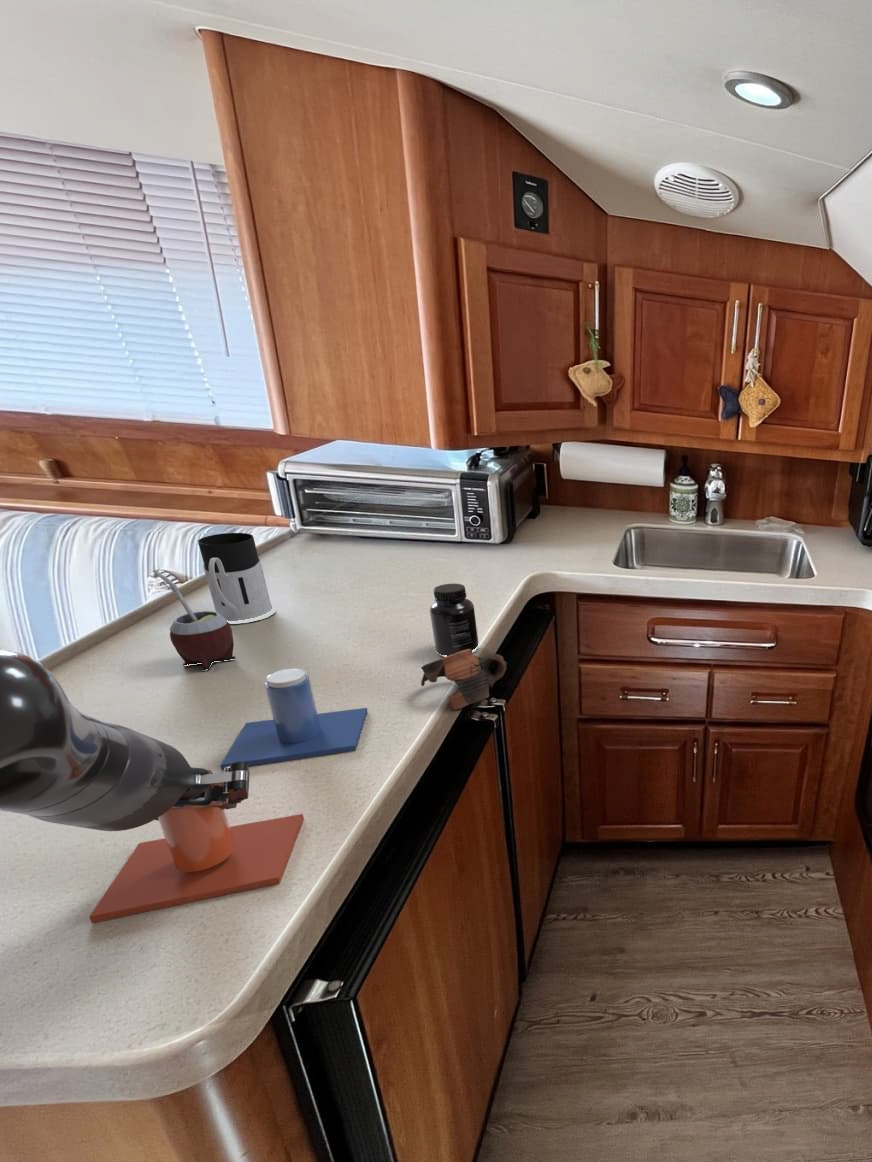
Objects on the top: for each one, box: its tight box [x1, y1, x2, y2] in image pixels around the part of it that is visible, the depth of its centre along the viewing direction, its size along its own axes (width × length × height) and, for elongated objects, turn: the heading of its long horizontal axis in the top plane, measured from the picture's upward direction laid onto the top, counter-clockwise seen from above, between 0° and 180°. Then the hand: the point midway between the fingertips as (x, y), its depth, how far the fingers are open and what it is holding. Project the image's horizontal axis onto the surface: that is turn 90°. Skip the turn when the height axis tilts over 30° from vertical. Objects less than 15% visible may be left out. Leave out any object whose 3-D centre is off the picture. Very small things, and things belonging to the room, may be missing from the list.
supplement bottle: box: [429, 583, 479, 656], centre depth 110 cm, size 7×7×12 cm
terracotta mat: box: [89, 813, 305, 924], centre depth 65 cm, size 14×10×1 cm
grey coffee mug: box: [197, 532, 273, 621], centre depth 113 cm, size 9×14×15 cm, turn 25°
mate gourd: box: [152, 569, 236, 670], centre depth 99 cm, size 8×8×15 cm
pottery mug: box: [420, 649, 508, 711], centre depth 99 cm, size 12×10×8 cm
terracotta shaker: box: [158, 786, 235, 872], centre depth 63 cm, size 5×5×9 cm
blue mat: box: [220, 707, 369, 771], centre depth 86 cm, size 14×10×1 cm
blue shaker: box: [264, 667, 321, 744], centre depth 84 cm, size 5×5×9 cm
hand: (199, 803), depth 64 cm, fingers closed on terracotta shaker, 4 cm apart
